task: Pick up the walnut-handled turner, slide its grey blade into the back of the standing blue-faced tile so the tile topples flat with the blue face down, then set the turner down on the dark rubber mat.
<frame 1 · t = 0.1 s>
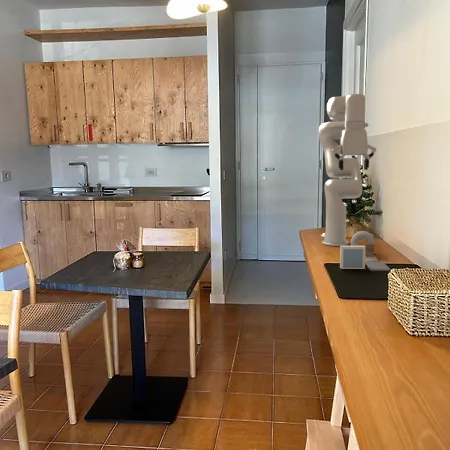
hand: (353, 169, 182), 37 cm above the table, tool pointing down, fingers open, 9 cm apart
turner: (368, 257, 191), on the table
mat: (377, 266, 175), on the table
tile: (352, 269, 173), on the table
donut: (362, 253, 199), on the table
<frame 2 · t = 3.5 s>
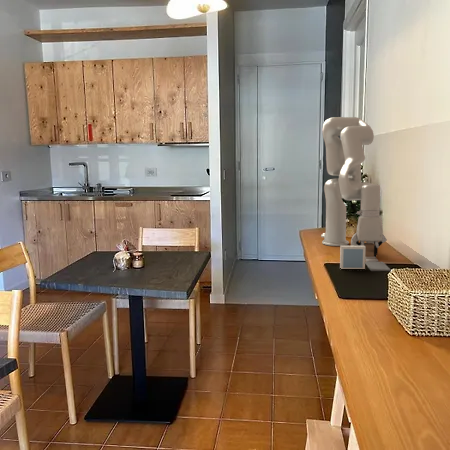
hand: (368, 256, 191), 1 cm above the table, tool pointing down, fingers closed on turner, 4 cm apart
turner: (368, 257, 191), on the table, touching gripper
everything else where it was.
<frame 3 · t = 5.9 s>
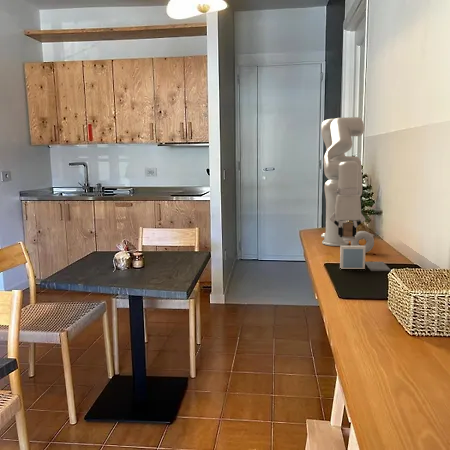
hand: (347, 236, 185), 10 cm above the table, tool pointing down, fingers closed on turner, 4 cm apart
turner: (347, 237, 185), point 10 cm above the table, touching gripper
everything else where it was.
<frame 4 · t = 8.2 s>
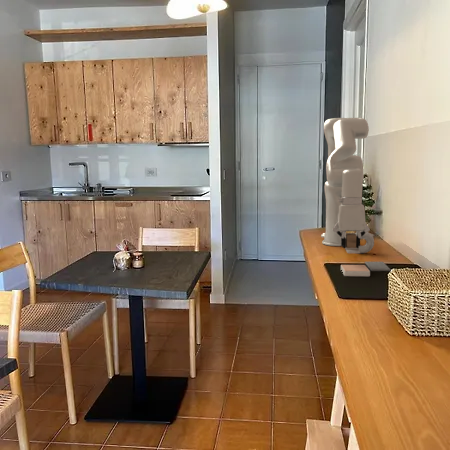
hand: (350, 247, 177), 7 cm above the table, tool pointing down, fingers closed on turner, 4 cm apart
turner: (350, 248, 177), point 7 cm above the table, touching gripper
tile: (352, 267, 172), point 1 cm above the table, tilted 90°
everything else where it was.
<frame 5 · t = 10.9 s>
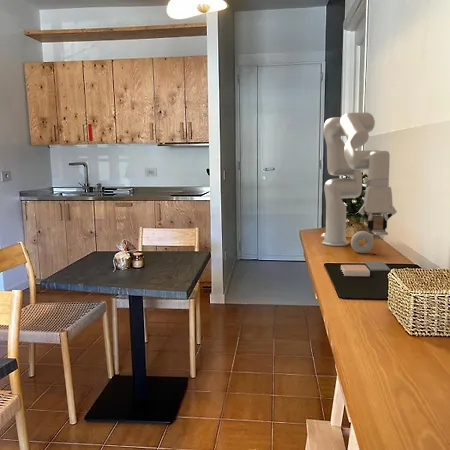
hand: (376, 229, 176), 14 cm above the table, tool pointing down, fingers closed on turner, 4 cm apart
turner: (376, 231, 176), point 14 cm above the table, touching gripper
everything else where it was.
when the fingers open (2 cm above the table, at t = 12.9 s): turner drops 1 cm, resting on mat.
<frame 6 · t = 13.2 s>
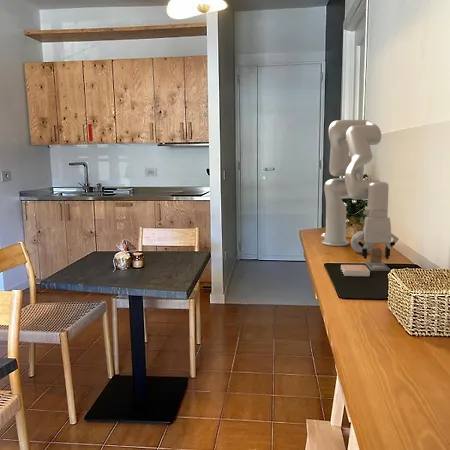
hand: (375, 257, 178), 3 cm above the table, tool pointing down, fingers open, 7 cm apart
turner: (375, 263, 178), point 1 cm above the table, touching mat
everything else where it was.
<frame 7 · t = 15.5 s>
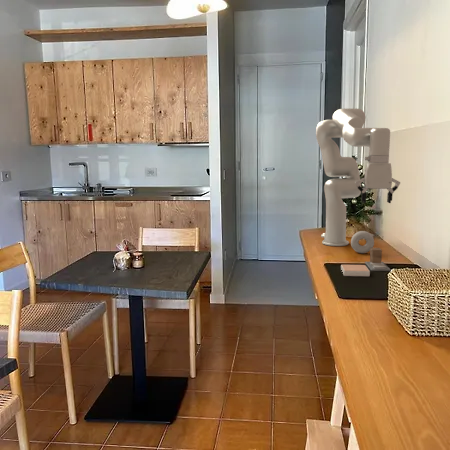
hand: (376, 202, 182), 24 cm above the table, tool pointing down, fingers open, 9 cm apart
nothing on the table moved.
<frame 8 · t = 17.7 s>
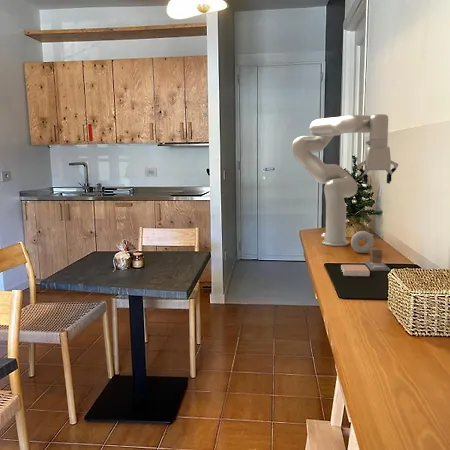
hand: (376, 183, 198), 30 cm above the table, tool pointing down, fingers open, 9 cm apart
nothing on the table moved.
at the end: tile tilted 90°; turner inside the target area on the mat (2.9 cm from its centre), point 0.6 cm above the mat's base; the gripper is holding nothing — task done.
